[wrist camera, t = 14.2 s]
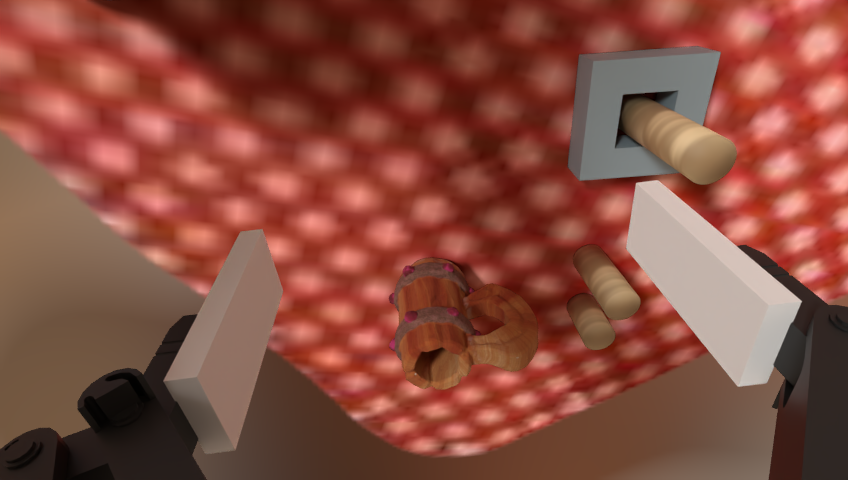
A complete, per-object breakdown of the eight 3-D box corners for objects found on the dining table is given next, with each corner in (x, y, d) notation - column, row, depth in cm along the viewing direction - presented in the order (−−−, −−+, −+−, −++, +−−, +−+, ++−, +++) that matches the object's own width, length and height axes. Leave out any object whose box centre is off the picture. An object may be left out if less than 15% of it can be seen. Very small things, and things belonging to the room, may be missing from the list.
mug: (394, 310, 57) (393, 411, 44) (383, 253, 53) (380, 347, 40) (513, 295, 57) (549, 393, 44) (513, 237, 52) (551, 326, 39)
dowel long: (612, 93, 45) (692, 139, 33) (649, 90, 45) (742, 135, 33) (607, 129, 47) (680, 186, 35) (642, 127, 47) (728, 182, 35)
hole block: (579, 54, 43) (593, 61, 40) (697, 45, 43) (720, 52, 40) (567, 167, 48) (579, 180, 45) (672, 159, 49) (691, 172, 45)
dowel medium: (573, 247, 53) (605, 294, 46) (604, 242, 53) (642, 289, 46) (572, 272, 55) (603, 322, 47) (602, 268, 55) (638, 317, 47)
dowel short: (568, 294, 57) (585, 327, 52) (597, 292, 57) (617, 324, 52) (565, 317, 59) (581, 351, 54) (593, 315, 59) (613, 348, 54)
